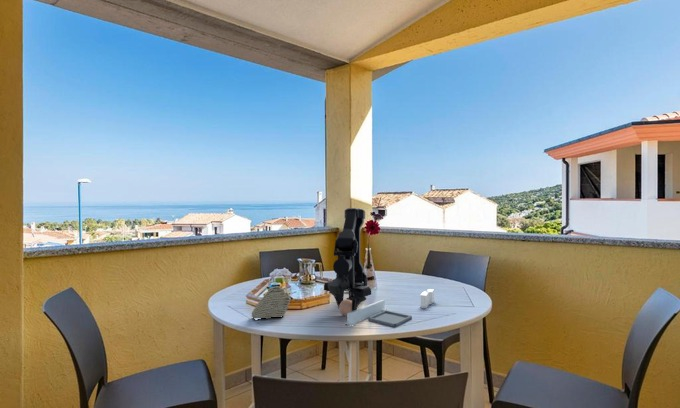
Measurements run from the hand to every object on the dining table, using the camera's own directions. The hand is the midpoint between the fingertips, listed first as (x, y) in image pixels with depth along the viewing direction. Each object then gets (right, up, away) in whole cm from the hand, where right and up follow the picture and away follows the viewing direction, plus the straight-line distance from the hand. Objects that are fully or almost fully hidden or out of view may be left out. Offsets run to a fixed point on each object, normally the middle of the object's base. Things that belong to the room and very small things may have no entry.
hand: (347, 311), depth 132 cm
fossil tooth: (-28, -2, 0) cm, 28 cm away
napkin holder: (+34, -2, +14) cm, 37 cm away
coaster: (+15, -1, -5) cm, 16 cm away
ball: (0, +1, 0) cm, 2 cm away
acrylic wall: (+7, -1, -2) cm, 8 cm away
